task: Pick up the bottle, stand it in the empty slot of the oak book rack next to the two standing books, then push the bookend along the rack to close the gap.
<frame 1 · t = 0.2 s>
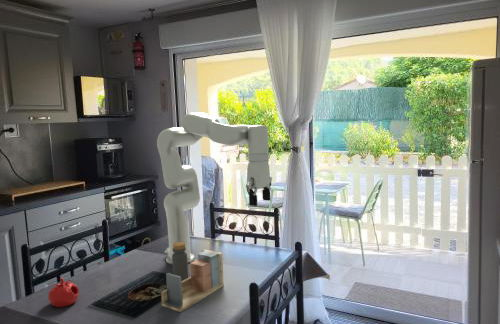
hand: (260, 202, 144), 31 cm above the table, tool pointing down, fingers open, 9 cm apart
bookend: (172, 290, 129), point 6 cm above the table, slide at 0.0 cm
bottle: (181, 280, 151), on the table
pomegranate: (64, 303, 135), on the table
rack: (194, 295, 138), on the table
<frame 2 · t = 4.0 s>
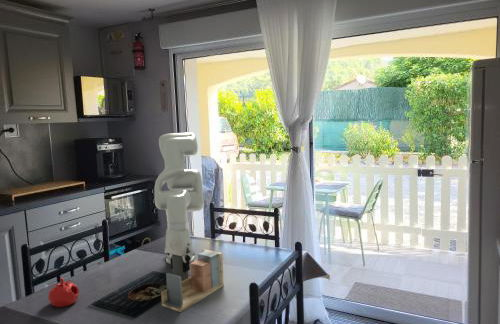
hand: (180, 269, 151), 5 cm above the table, tool pointing down, fingers closed on bottle, 5 cm apart
bottle: (181, 280, 151), on the table, touching gripper
everything else where it was.
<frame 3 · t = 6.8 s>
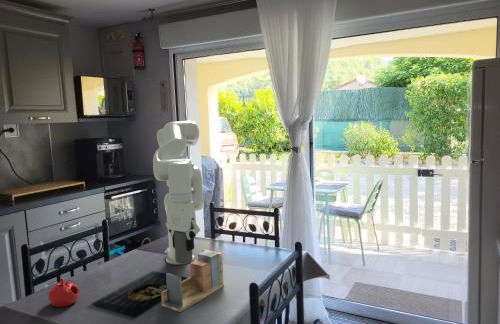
hand: (183, 247, 132), 19 cm above the table, tool pointing down, fingers closed on bottle, 5 cm apart
bottle: (184, 260, 133), point 14 cm above the table, touching gripper
everything else where it was.
when the fingers open (7 cm above the table, at t = 9.4 s): bottle drops 1 cm, resting on rack.
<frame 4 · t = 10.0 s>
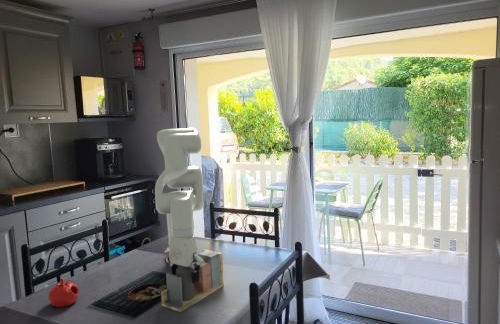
hand: (185, 279, 134), 8 cm above the table, tool pointing down, fingers open, 9 cm apart
bottle: (186, 297, 135), point 1 cm above the table, touching rack
everything else where it was.
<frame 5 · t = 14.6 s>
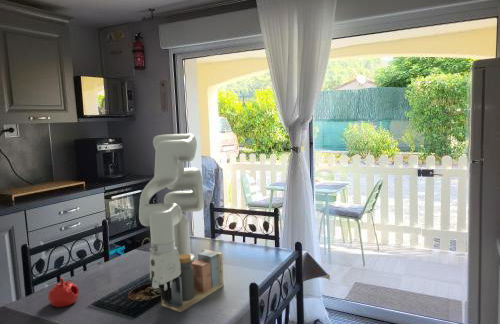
hand: (166, 299, 127), 4 cm above the table, tool pointing down, fingers closed
bookend: (172, 290, 129), point 6 cm above the table, slide at 0.0 cm, touching gripper
everything else where it was.
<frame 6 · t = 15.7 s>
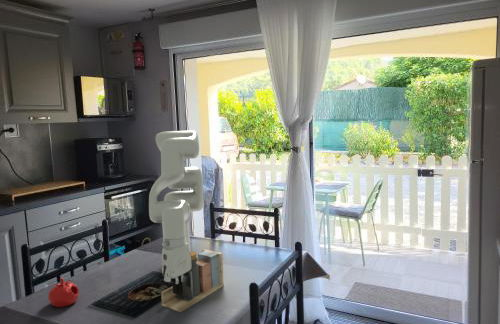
hand: (178, 293, 131), 4 cm above the table, tool pointing down, fingers closed
bookend: (183, 284, 133), point 6 cm above the table, slide at 5.3 cm, touching bottle, gripper
bottle: (192, 294, 137), point 1 cm above the table, touching bookend, rack
everything else where it was.
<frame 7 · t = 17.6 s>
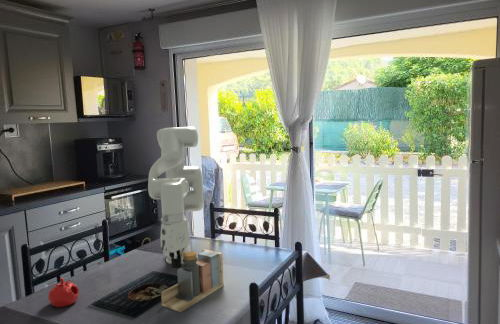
hand: (176, 267, 134), 12 cm above the table, tool pointing down, fingers closed
bookend: (183, 284, 133), point 6 cm above the table, slide at 5.3 cm
bottle: (192, 294, 137), point 1 cm above the table, touching rack
everything else where it was.
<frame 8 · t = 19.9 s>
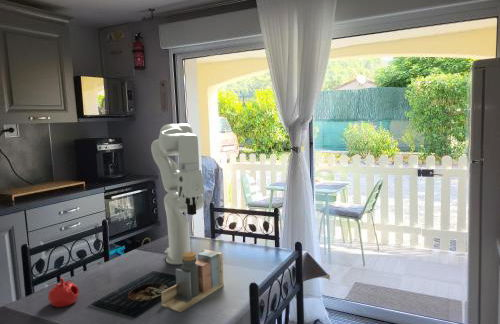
hand: (191, 214, 146), 27 cm above the table, tool pointing down, fingers closed
bookend: (182, 285, 132), point 6 cm above the table, slide at 4.5 cm
everything else where it was.
at the end: bottle inside the target area (1.7 cm from its centre), point 0.6 cm above the table; bottle tilted 1°; bookend slide at 4.5 cm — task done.
